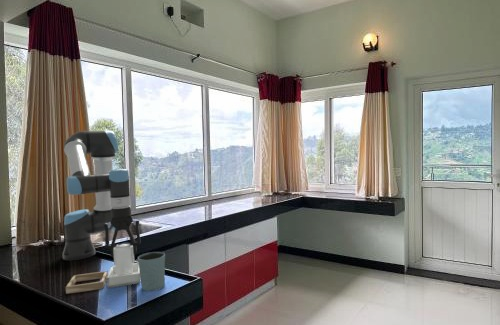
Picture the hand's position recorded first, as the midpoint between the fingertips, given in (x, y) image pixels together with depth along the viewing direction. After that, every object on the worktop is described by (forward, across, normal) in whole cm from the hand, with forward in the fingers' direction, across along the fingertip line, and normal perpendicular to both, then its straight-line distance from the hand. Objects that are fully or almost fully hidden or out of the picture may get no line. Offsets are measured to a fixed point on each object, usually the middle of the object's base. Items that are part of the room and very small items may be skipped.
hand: (124, 262), depth 137 cm
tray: (+7, 0, 0) cm, 7 cm away
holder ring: (+7, -14, 0) cm, 16 cm away
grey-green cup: (+7, +11, -12) cm, 18 cm away
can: (+5, 0, 0) cm, 5 cm away
